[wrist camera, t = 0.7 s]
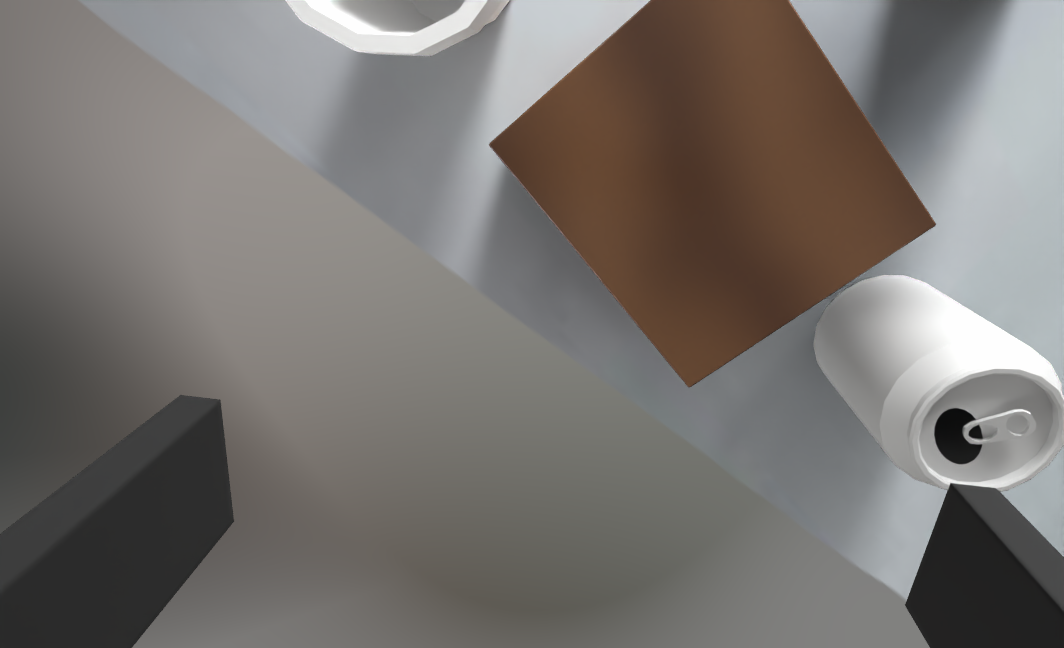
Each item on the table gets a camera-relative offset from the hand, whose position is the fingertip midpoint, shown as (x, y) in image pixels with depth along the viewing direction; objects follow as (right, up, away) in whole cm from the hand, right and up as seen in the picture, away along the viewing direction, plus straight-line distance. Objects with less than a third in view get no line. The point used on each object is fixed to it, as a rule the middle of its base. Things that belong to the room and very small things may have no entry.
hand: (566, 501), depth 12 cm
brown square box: (+8, +12, +24) cm, 28 cm away
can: (+20, +3, +26) cm, 33 cm away
